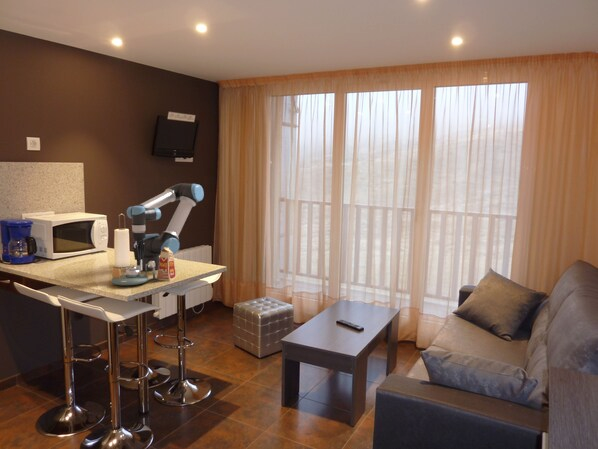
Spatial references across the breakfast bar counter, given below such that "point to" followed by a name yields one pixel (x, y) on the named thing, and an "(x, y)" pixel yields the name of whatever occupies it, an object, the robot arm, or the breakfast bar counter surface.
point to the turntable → (124, 280)
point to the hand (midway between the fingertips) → (139, 270)
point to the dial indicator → (152, 265)
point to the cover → (133, 272)
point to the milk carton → (166, 265)
